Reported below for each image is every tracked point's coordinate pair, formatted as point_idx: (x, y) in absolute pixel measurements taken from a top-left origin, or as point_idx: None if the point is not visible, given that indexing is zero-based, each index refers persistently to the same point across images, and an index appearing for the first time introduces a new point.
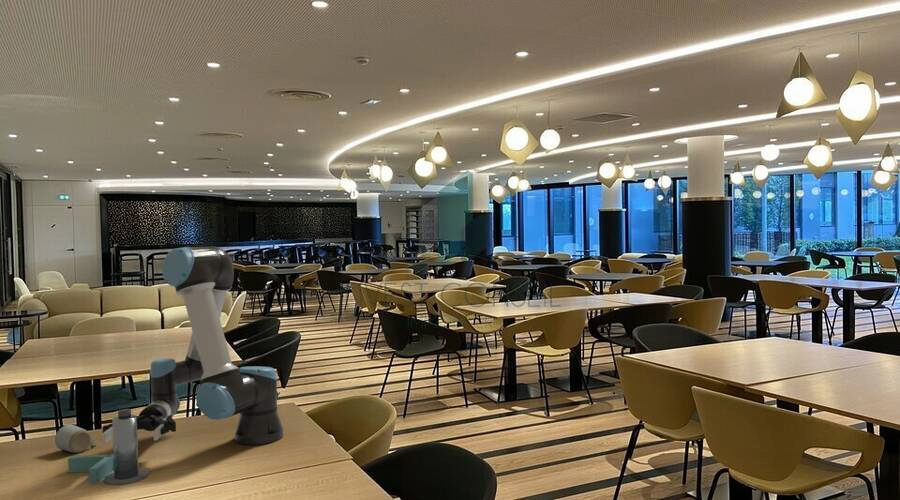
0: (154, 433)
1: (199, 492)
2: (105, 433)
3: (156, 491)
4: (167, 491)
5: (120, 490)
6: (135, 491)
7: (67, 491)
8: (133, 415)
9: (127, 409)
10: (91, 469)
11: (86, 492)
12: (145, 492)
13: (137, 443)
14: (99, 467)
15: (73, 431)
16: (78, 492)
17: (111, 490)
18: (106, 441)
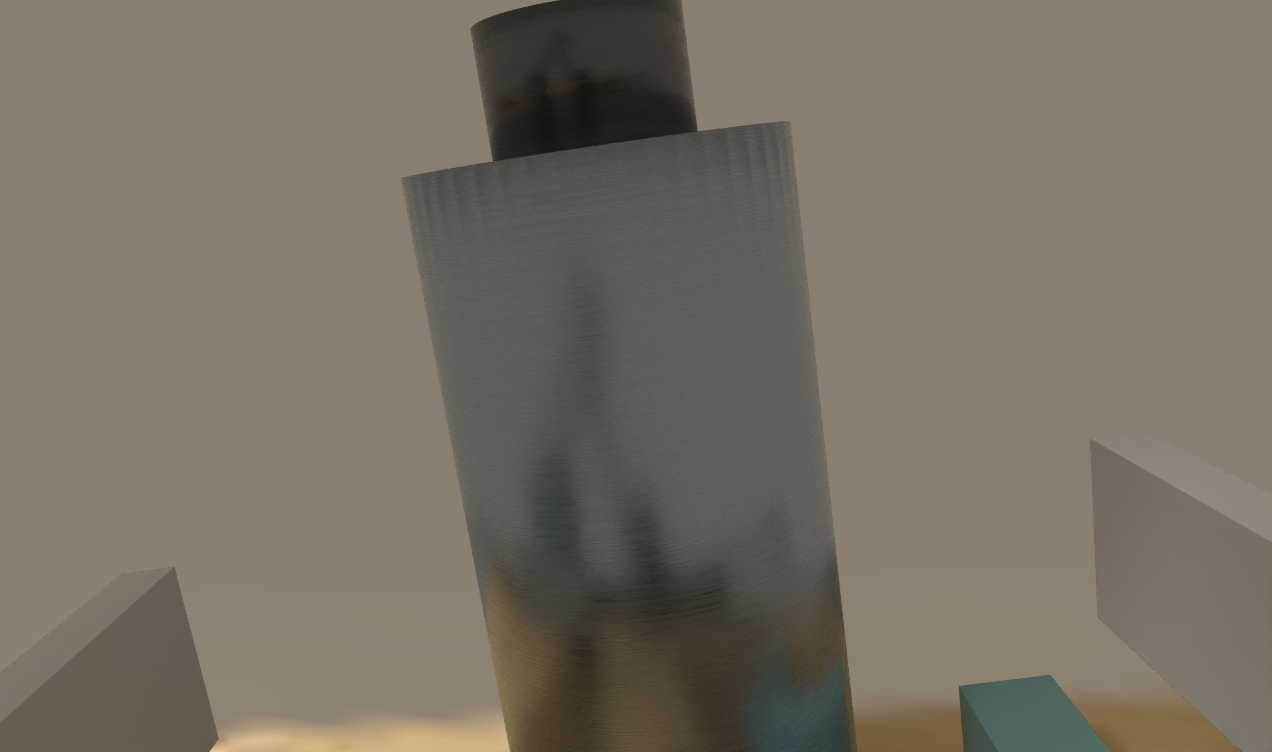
0: (172, 617)
1: None
2: (1099, 445)
3: (316, 743)
4: (232, 746)
5: None
6: (485, 736)
7: (1126, 712)
8: (473, 165)
9: (540, 9)
10: (1021, 682)
11: (913, 707)
12: (401, 728)
13: (488, 634)
14: (983, 735)
15: None
16: None
17: None
18: (1120, 621)
